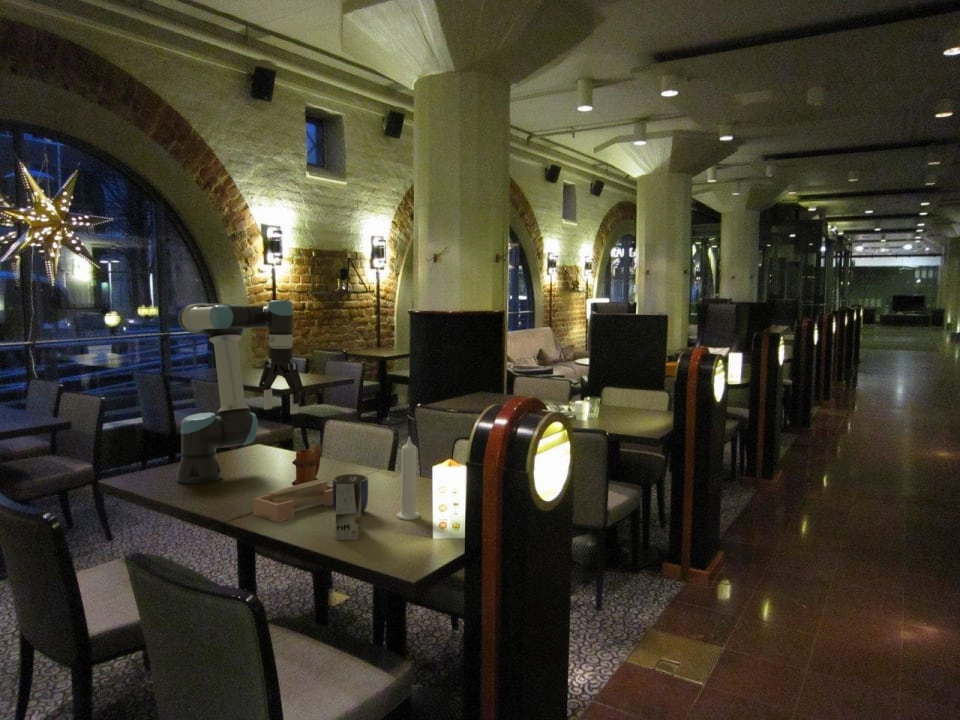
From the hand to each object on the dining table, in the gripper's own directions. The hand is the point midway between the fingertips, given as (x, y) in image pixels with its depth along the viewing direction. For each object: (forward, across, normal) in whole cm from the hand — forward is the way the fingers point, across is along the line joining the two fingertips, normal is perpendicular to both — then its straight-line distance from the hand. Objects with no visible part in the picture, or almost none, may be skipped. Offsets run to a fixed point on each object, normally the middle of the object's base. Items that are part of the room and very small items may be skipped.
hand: (280, 411), depth 231 cm
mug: (+29, +1, +11) cm, 31 cm away
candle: (+29, +47, +11) cm, 56 cm away
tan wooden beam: (+28, +15, -5) cm, 32 cm away
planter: (+29, +31, +2) cm, 42 cm away
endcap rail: (+29, +15, -5) cm, 33 cm away
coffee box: (+29, +45, -12) cm, 55 cm away
